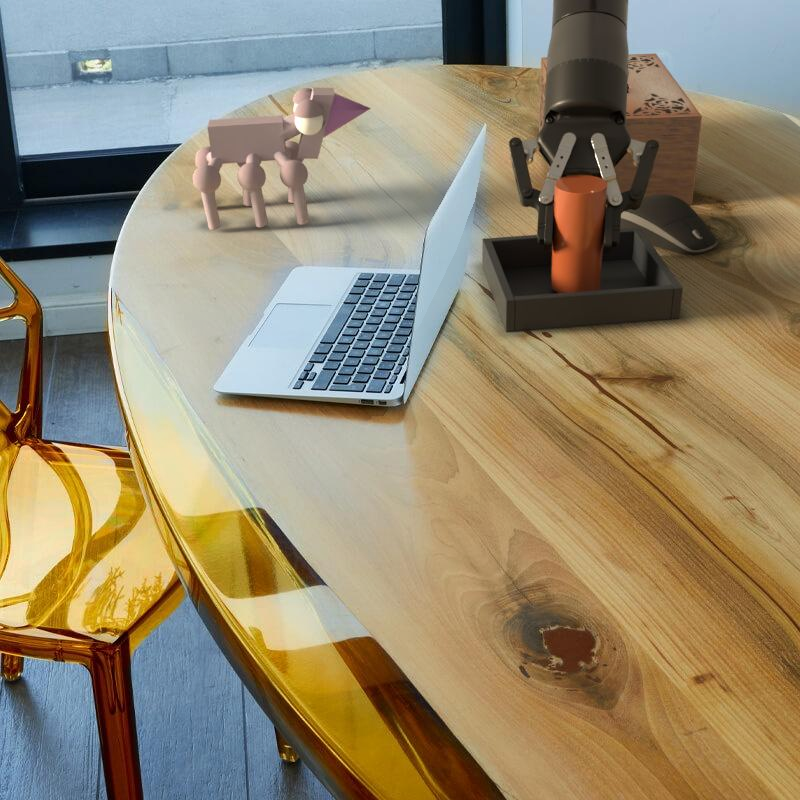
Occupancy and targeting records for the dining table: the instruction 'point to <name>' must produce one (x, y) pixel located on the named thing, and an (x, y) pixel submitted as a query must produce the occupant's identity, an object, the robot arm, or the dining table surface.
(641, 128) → the tissue box cover
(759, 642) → the dining table surface
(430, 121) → the dining table surface
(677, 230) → the computer mouse
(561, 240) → the canister
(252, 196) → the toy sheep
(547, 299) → the tray
